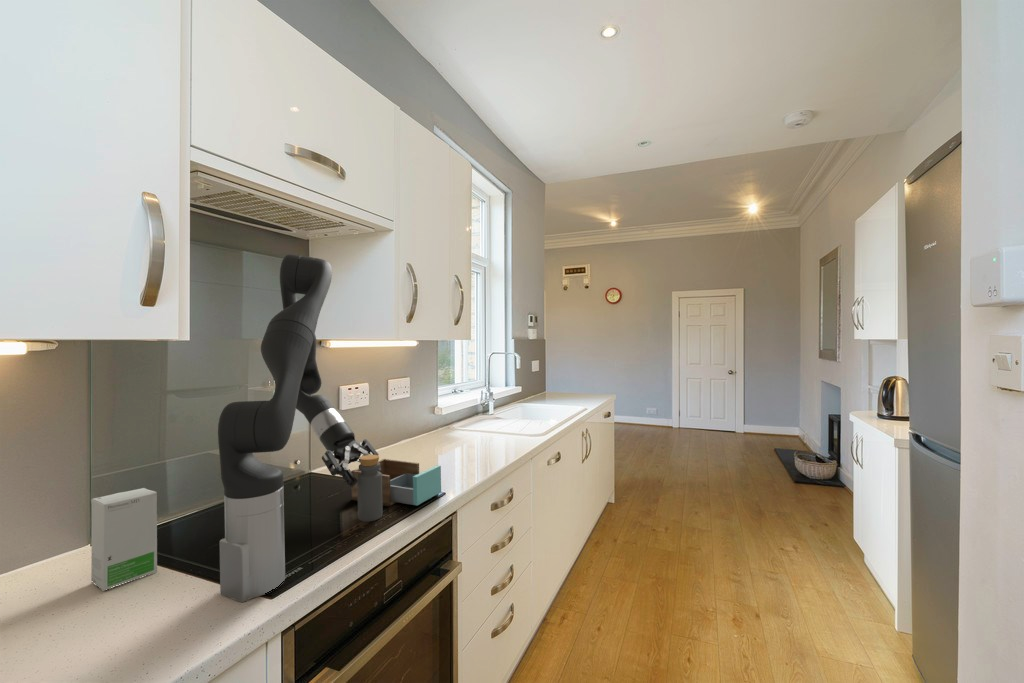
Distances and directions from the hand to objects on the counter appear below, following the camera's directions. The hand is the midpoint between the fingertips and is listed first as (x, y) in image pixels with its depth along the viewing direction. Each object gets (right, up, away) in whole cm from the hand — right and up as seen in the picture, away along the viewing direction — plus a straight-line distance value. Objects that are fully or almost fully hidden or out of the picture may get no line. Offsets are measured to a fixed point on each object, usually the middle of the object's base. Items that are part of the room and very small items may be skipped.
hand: (367, 479), depth 110 cm
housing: (0, -9, +15) cm, 18 cm away
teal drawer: (+8, -8, +12) cm, 17 cm away
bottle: (+1, -10, 0) cm, 10 cm away
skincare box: (-37, -10, -27) cm, 47 cm away
